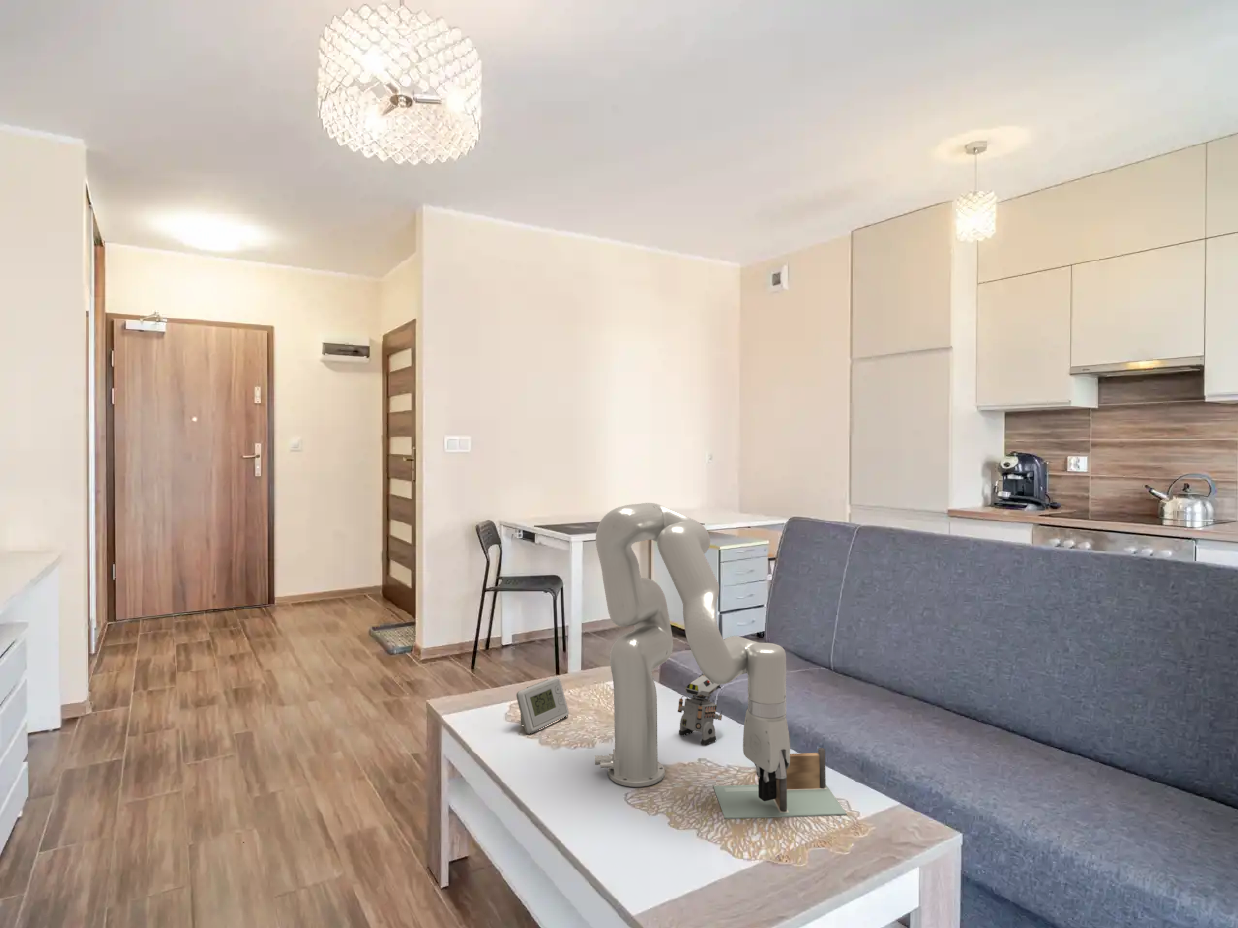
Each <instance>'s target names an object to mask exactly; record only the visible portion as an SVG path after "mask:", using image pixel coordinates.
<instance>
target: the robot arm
mask: <svg viewBox="0 0 1238 928" xmlns="http://www.w3.org/2000/svg"><path fill="white" fill-rule="evenodd" d="M649 540H652V541H654V542H655V543H656V545H657V550H658V552H659V554H660V556H661V559H662V561H663V563H664V565H665V568H666V570H667V572H668V574H669V576H670V577H671V581H672V582H673V585H674V587H675V588H676V591H677V594H678V595H679V597H680V600H681V602H682V614H683V624H684V632H685V637H686V640H687V643H688V646H689V648H690V650H691V653H692V656H693V657H694V659H695V662H696V664H697V666H698V668H699V669H700V671H701V674H702V673H703V674H704V675H705V676H706V677H707V678H708V679H709V680H710V681H711V682H713V683H716V684H720V685H725V684H729V683H730V682H732V681H734V680H735V679H737V678H738V677H740V676H741V675H744V674H746V675H747V708H746V711H745V716H744V721H743V722H744V723H743V738H742V751H743V755H744V756H745V758H746V759H747V760H749V761H750V762H752V763H754V766H755V772H756V777H757V779H758V782H757V783H758V784H757V785H758V788H759V798H760V799H762V800H763V801H769V800H772V799H776V780H778V779H784V778H786V769H788V768H789V765H790V754H791V741H790V742H789V733H790V731H789V725H788V720H787V718H786V717H787V654H786V649H784V648H783V646H781V645H779V644H776V643H772V642H758V641H755V640H751V639H748V638H745V637H742V636H737V635H736V636H735V635H733V636H729V637H726V638H723V636H722V634H721V632H720V629H719V626H718V622H717V616H716V607H717V606H716V605H717V601H718V597H719V592H720V584H719V582H718V580H717V578H716V576H715V574H714V572H713V570H712V568H711V566H710V563H709V562H708V559H707V557H706V555H705V554H706V553H707V551H708V550H709V548H710V545H711V538H710V534H709V531H708V529H707V528H706V527H705V526H704V525H703V523H702V524H701V523H700V522H699V521H697V520H695V519H693V518H691V517H689V516H687V515H684V514H682V513H679V512H677V511H674V510H672V509H671V508H668V507H665V506H664V505H661V504H658V503H654V502H644V503H643V502H642V503H631V504H626V505H621V506H618V507H616V508H614V509H612V510H610V511H609V512H607V513H606V514H605V515H604V516H603V517H602V518H601V520H600V522H599V523H598V526H597V529H596V533H595V546H596V550H597V551H596V552H597V555H598V560H599V564H600V569H601V574H602V575H601V576H602V581H603V588H604V594H605V599H606V600H605V601H606V606H607V611H608V615H609V617H610V619H611V621H612V623H614V624H615V625H616V626H618V627H621V628H626V627H627V628H628V627H634V628H633V630H632V631H629V632H626V633H624V634H623V635H621V636H619V637H618V638H617V639H616V640H615V642H613V644H612V646H611V648H610V652H609V665H610V670H611V671H610V672H611V674H612V683H613V684H612V685H613V705H614V706H613V707H614V711H613V712H614V719H613V720H614V749H613V750H612V753H608V755H602V754H601V755H594V765H595V766H596V765H599V766H600V767H599V769H607V775H608V777H609V779H610V780H611V781H613V782H614V783H616V784H619V785H620V786H621V785H622V786H626V787H634V788H635V787H636V788H639V787H640V788H641V787H648V786H652V785H655V784H657V783H659V782H660V781H662V780H663V779H664V777H665V775H666V773H665V772H666V771H665V767H664V765H663V764H662V763H661V762H659V760H658V695H657V688H656V684H655V681H654V680H655V679H654V677H653V673H652V672H653V670H655V669H656V668H658V667H659V666H661V665H663V664H664V663H666V662H667V661H668V660H669V659H670V657H671V655H672V653H673V649H674V638H673V632H672V626H671V621H670V614H669V609H668V605H667V599H666V595H665V593H664V590H663V589H662V588H661V586H660V585H659V584H658V583H657V582H656V581H654V580H653V579H651V578H648V577H642V576H641V571H640V564H639V560H638V558H637V556H636V554H635V552H634V550H633V548H632V546H633V544H635V543H639V542H645V541H649Z"/></svg>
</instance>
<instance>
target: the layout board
mask: <svg viewBox="0 0 1238 928" xmlns="http://www.w3.org/2000/svg"><path fill="white" fill-rule="evenodd" d="M713 790H714V793H715V795H716V798H718V799H717V801H718V804H719V806H720V810H721V812H722V814H723V817H724V819H725V820H730V819H731V820H732V819H737V820H738V819H762V818H764V819H765V818H767V819H768V818H792V817H793V818H794V817H795V818H796V817H824V816H829V817H830V816H831V817H832V816H847V814H848V813H847V812H846V810H845V809H844V808H843V806H842V805H841V803H840V802H839V801H838V799H837V797H835V795H834V794H833V792H832V791H831V789H830V788H829V787H828V785H827V784H826V788H824V789H822V788H818V789H787V811H785V812H783V811H780V808H779V806H778V804H777V803H776V801H775V799H772V800H769V801H763V800H762V799H760V798H759V788H758V784H734V785H733V784H729V785H726V784H725V785H713Z"/></svg>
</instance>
